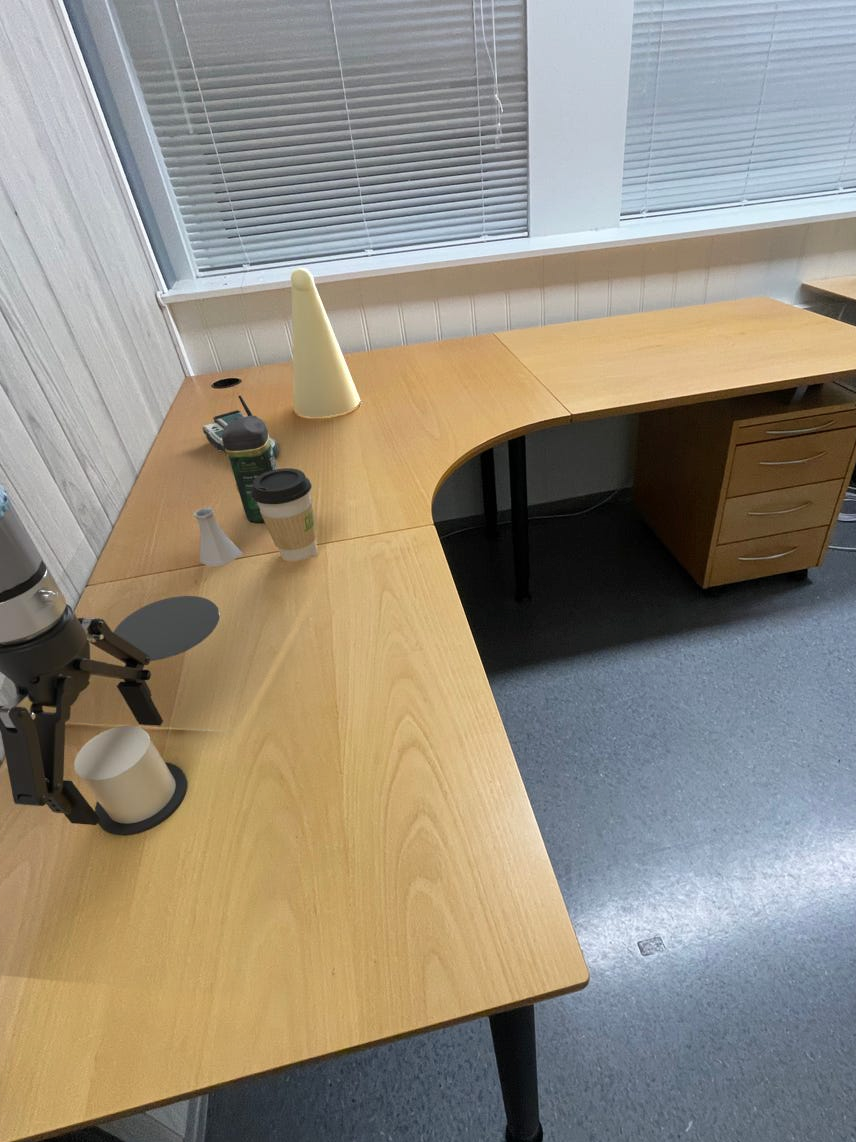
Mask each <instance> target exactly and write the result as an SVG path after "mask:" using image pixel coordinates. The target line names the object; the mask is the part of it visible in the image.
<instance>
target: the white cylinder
mask: <svg viewBox="0 0 856 1142" xmlns="http://www.w3.org/2000/svg"><path fill="white" fill-rule="evenodd" d="M165 762H166V761H165V760H164V758H163V756H162V755H161V754H160V752H159V750H158V748H157V746H156V745H155V743H154V742H153V739H152V738H151V736H150V735H149V733H148V732H147V730H145V729H144V728H142V727H140V726H138V725H137V726H136V725H131V724H130V725H128V724H127V725H120V726H115V727H111V728H109V729H106V730H104V731H102V732H100V733H98V734H96V735H95V736H94V737H92V738H90V739H89V740H88V741H87V742H86V743H85V744H84V745H83V746H82V747H81V748H80V749H79V750H78V752H77V754H76V756H75V759H74V763H73V769H74V771H75V773H76V775H77V776H78V778H80V780H81V781H82V782H83V784H84V785H85V787H86V788H87V789H88V791H89V792H90V793H91V795H92V796H93V798H95V800H96V802H97V801H98V802H99V804H100V805H101V806H102V808H103V809H104V810H105V812H106V813H107V814H108V816H109V817H110V818H111V819H112V820H114V821H116V822H119V823H124V824H129V823H136V822H140V821H143V820H145V819H148V818H150V817H152V816H153V815H155V814H156V813H158V812H159V811H160V810H162V809H163V808H164V807H165V806H166V805H167V804H168V802H169V801H170V800H171V798H172V796H173V794H174V791H175V787H176V783H175V779H174V777H173V775H172V774H171V772H170V770H169V769H168V767H167V765H166V764H165Z"/></svg>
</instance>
